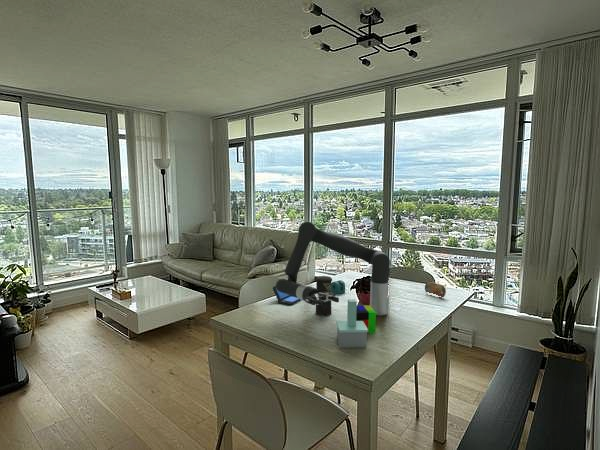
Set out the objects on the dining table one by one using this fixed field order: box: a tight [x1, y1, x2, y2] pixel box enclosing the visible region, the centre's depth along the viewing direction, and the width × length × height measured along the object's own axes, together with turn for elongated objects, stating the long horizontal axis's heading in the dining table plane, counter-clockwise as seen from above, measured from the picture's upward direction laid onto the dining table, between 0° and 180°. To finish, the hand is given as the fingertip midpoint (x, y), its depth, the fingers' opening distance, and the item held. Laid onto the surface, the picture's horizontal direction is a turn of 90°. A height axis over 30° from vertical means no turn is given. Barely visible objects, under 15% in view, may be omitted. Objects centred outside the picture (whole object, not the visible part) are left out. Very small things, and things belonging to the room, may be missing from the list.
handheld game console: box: [272, 285, 302, 306], centre depth 205 cm, size 16×13×9 cm
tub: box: [336, 326, 368, 349], centre depth 147 cm, size 11×9×7 cm
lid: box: [335, 298, 368, 333], centre depth 146 cm, size 12×10×12 cm
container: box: [314, 275, 333, 317], centre depth 183 cm, size 9×9×20 cm
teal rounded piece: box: [331, 279, 346, 296], centre depth 226 cm, size 18×7×8 cm, turn 42°
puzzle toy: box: [356, 304, 377, 334], centre depth 162 cm, size 10×10×10 cm
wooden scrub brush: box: [424, 281, 447, 298], centre depth 215 cm, size 15×3×8 cm, turn 25°
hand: (332, 302), depth 154 cm, fingers open, 8 cm apart
